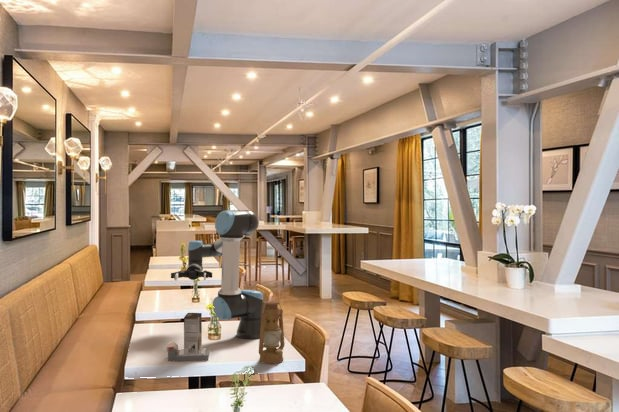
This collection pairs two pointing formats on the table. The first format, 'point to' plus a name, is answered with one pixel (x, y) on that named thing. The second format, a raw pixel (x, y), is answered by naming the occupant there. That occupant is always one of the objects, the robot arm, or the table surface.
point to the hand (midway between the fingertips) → (190, 277)
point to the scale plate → (202, 352)
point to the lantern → (271, 333)
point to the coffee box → (192, 333)
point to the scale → (174, 356)
